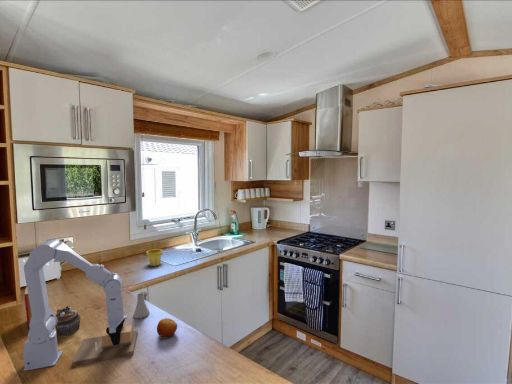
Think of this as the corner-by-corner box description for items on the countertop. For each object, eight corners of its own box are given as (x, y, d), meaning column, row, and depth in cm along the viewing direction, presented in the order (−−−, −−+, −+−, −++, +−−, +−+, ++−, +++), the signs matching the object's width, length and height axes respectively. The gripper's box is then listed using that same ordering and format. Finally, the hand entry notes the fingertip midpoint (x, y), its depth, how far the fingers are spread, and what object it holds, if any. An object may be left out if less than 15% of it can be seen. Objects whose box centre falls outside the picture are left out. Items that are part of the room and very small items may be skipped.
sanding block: (102, 348, 109) (101, 336, 108) (105, 341, 113) (104, 329, 113) (131, 343, 112) (130, 331, 111) (132, 337, 116) (131, 325, 115)
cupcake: (63, 339, 118) (61, 315, 117) (50, 333, 123) (48, 310, 122) (86, 327, 127) (84, 305, 126) (73, 322, 131) (71, 300, 130)
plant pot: (148, 262, 209) (147, 249, 208) (163, 261, 211) (162, 248, 210) (146, 267, 199) (145, 253, 198) (161, 266, 201) (161, 252, 200)
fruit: (149, 334, 118) (157, 314, 120) (165, 336, 123) (173, 317, 125) (158, 342, 112) (167, 321, 115) (174, 344, 117) (182, 324, 120)
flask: (133, 312, 138) (132, 292, 137) (149, 309, 141) (148, 290, 140) (133, 320, 132) (131, 299, 131) (149, 317, 134) (148, 296, 133)
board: (72, 366, 102) (71, 361, 102) (83, 342, 116) (83, 339, 115) (133, 354, 108) (133, 350, 107) (137, 333, 121) (137, 330, 121)
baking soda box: (29, 319, 134) (26, 286, 132) (46, 315, 137) (43, 282, 136) (27, 329, 126) (24, 293, 124) (46, 324, 130) (43, 289, 128)
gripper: (123, 314, 105) (125, 349, 106) (129, 297, 119) (131, 328, 120) (101, 317, 103) (104, 353, 105) (110, 299, 117) (112, 331, 118)
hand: (117, 340), depth 112 cm, fingers closed on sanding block, 4 cm apart
